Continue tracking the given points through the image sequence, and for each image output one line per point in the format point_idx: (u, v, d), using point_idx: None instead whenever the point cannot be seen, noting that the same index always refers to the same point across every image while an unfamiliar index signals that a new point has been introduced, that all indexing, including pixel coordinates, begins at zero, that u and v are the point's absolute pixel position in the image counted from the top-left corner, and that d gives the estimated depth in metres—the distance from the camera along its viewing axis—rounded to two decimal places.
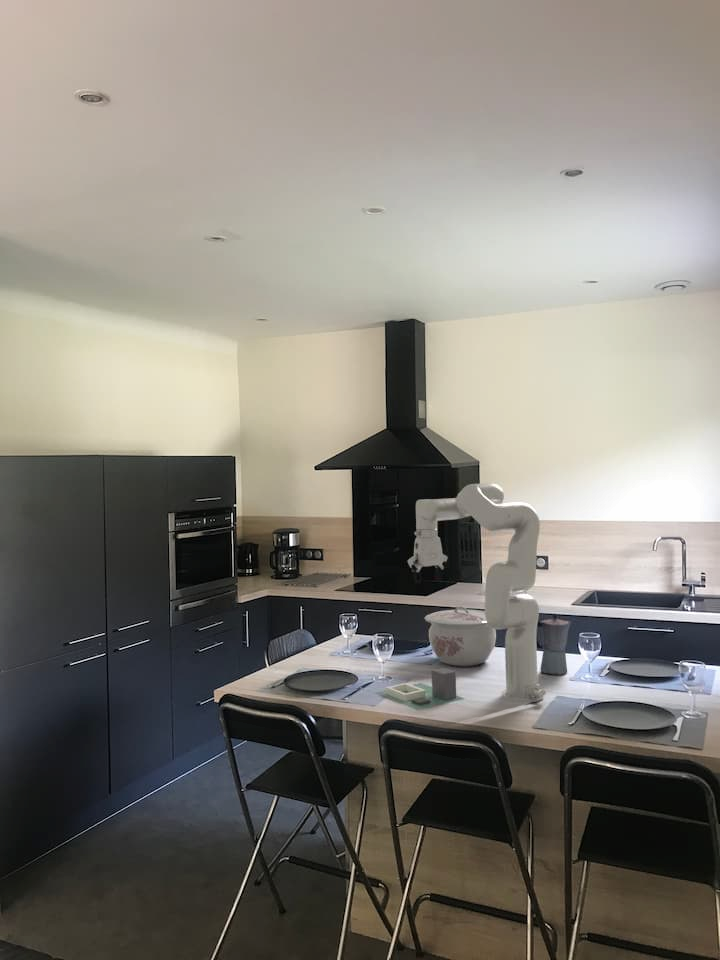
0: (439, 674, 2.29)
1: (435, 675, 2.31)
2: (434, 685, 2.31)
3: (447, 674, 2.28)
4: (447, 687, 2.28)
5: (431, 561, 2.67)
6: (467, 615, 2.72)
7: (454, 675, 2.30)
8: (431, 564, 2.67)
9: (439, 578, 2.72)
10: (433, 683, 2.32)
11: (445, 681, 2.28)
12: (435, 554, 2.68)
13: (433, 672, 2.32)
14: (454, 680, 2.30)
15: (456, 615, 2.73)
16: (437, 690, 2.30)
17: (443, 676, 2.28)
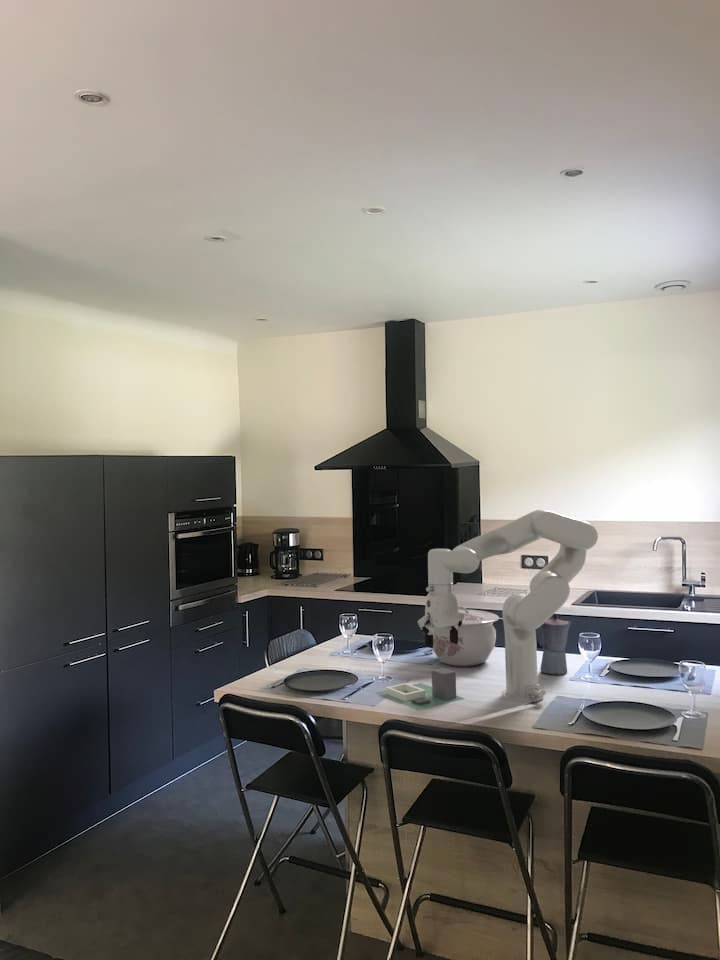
0: (439, 674, 2.29)
1: (435, 675, 2.31)
2: (434, 685, 2.31)
3: (447, 674, 2.28)
4: (447, 687, 2.28)
5: (445, 622, 2.28)
6: (467, 615, 2.72)
7: (454, 675, 2.30)
8: (445, 625, 2.28)
9: (454, 641, 2.33)
10: (433, 683, 2.32)
11: (445, 681, 2.28)
12: (450, 613, 2.30)
13: (433, 672, 2.32)
14: (454, 680, 2.30)
15: None
16: (437, 690, 2.30)
17: (443, 676, 2.28)
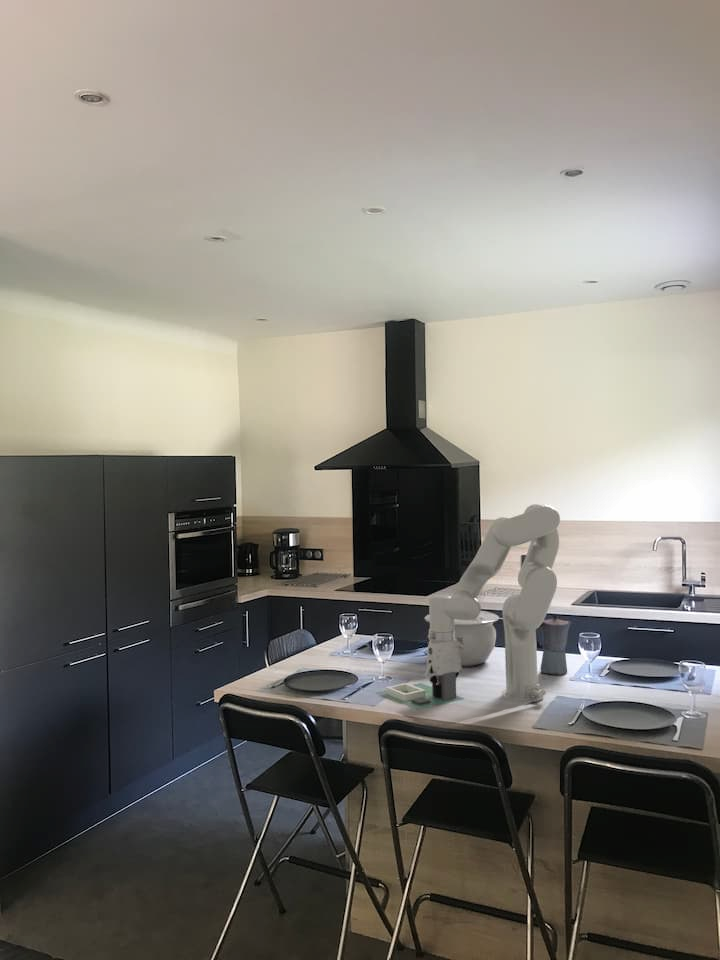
0: None
1: None
2: None
3: (447, 674, 2.28)
4: (447, 687, 2.28)
5: (447, 669, 2.28)
6: None
7: (454, 675, 2.30)
8: (447, 672, 2.29)
9: None
10: None
11: (445, 681, 2.28)
12: (452, 660, 2.30)
13: None
14: (454, 680, 2.30)
15: None
16: None
17: (443, 676, 2.28)
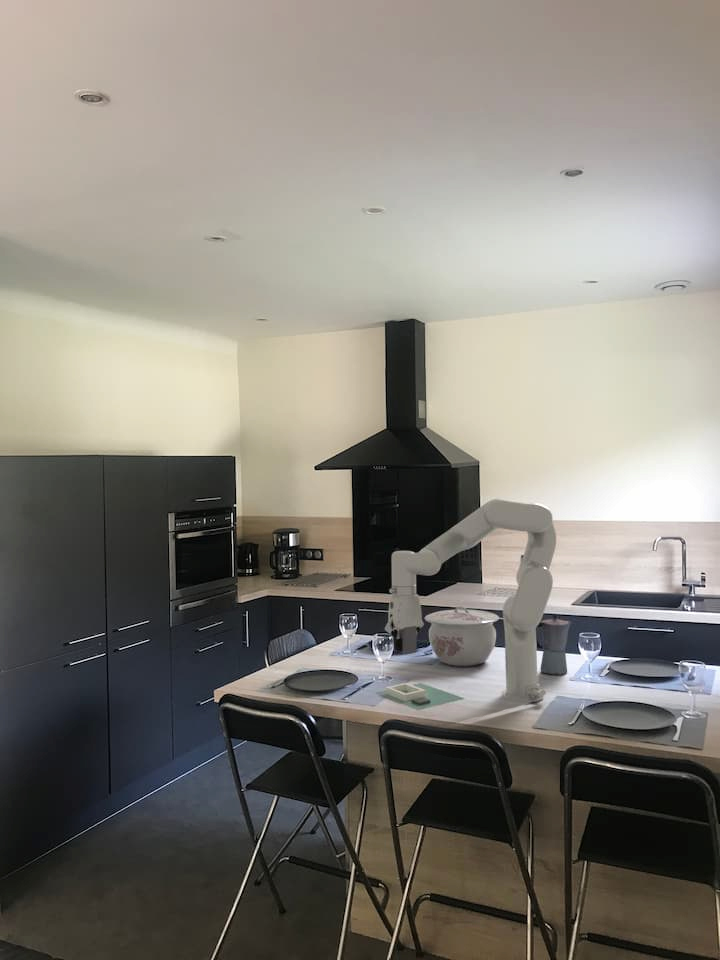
0: None
1: None
2: None
3: (408, 628, 2.31)
4: (407, 640, 2.31)
5: (408, 623, 2.31)
6: (467, 615, 2.72)
7: (415, 629, 2.32)
8: None
9: None
10: None
11: (406, 635, 2.30)
12: (413, 615, 2.32)
13: None
14: (415, 634, 2.32)
15: (456, 615, 2.73)
16: None
17: (404, 630, 2.30)
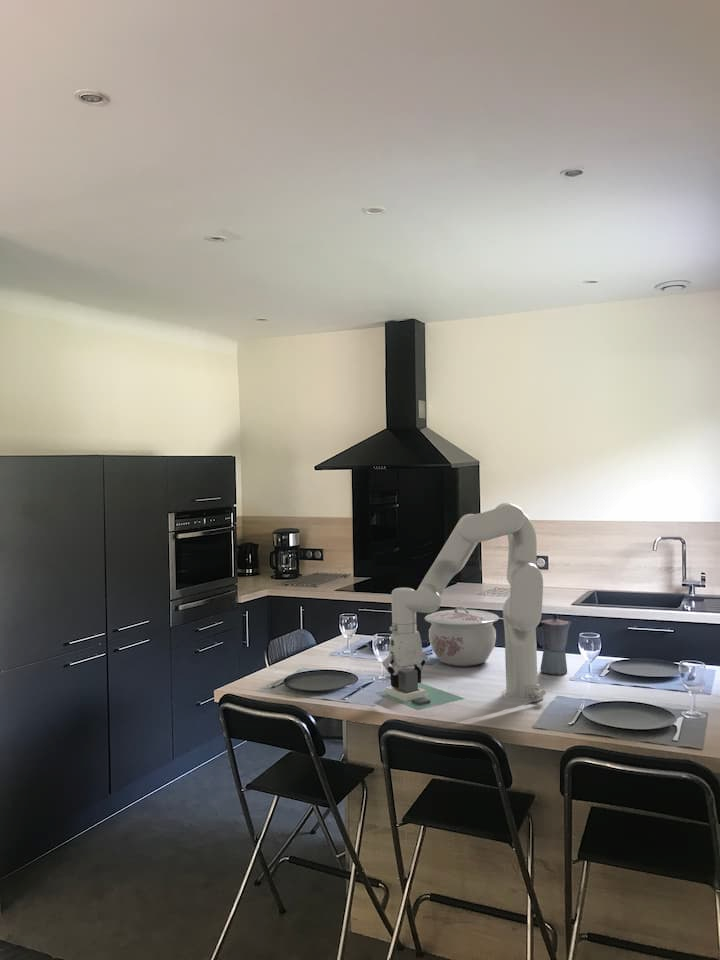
0: (401, 673, 2.32)
1: (397, 674, 2.34)
2: None
3: (409, 673, 2.31)
4: (408, 685, 2.31)
5: (409, 661, 2.31)
6: (467, 615, 2.72)
7: (416, 673, 2.32)
8: (409, 664, 2.31)
9: None
10: None
11: (407, 680, 2.31)
12: (414, 652, 2.32)
13: None
14: (416, 679, 2.32)
15: (456, 615, 2.73)
16: (399, 688, 2.33)
17: (405, 675, 2.31)
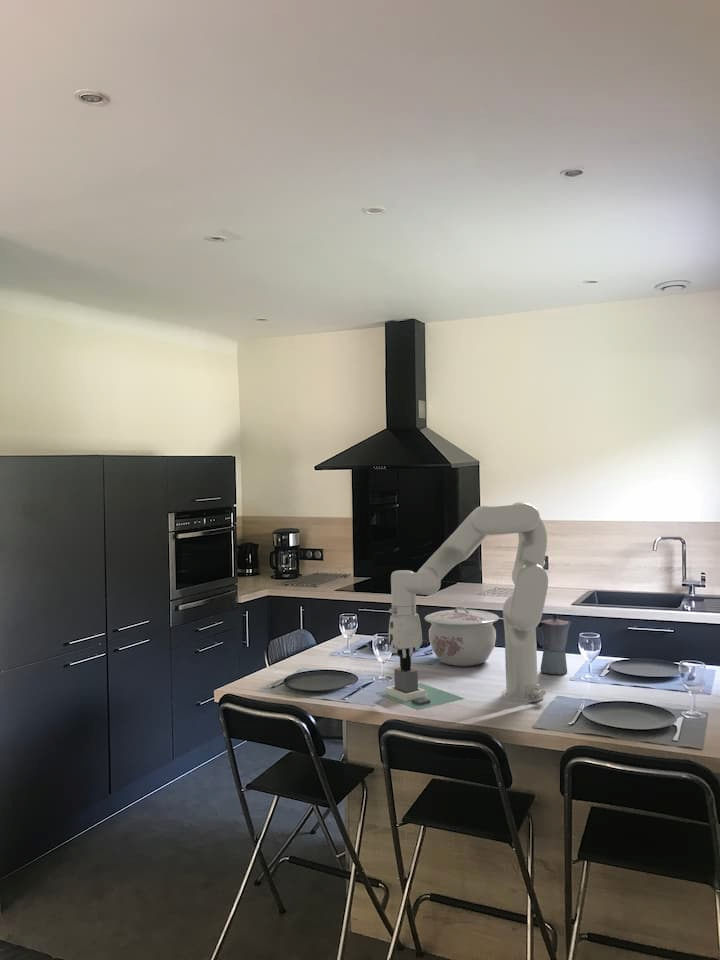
0: (401, 673, 2.32)
1: (397, 674, 2.34)
2: (397, 684, 2.34)
3: (409, 673, 2.31)
4: (408, 685, 2.31)
5: (408, 643, 2.31)
6: (467, 615, 2.72)
7: (416, 673, 2.32)
8: (408, 646, 2.31)
9: None
10: (396, 682, 2.35)
11: (407, 680, 2.31)
12: (413, 634, 2.32)
13: (396, 671, 2.35)
14: (416, 679, 2.32)
15: (456, 615, 2.73)
16: (399, 688, 2.33)
17: (405, 675, 2.31)
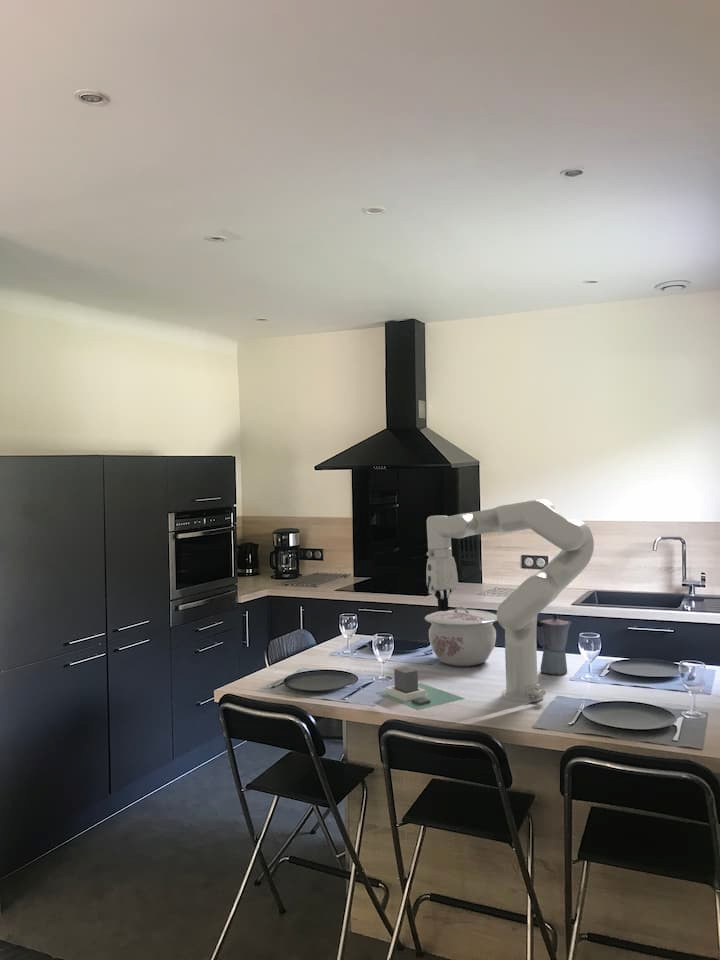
0: (401, 673, 2.32)
1: (397, 674, 2.34)
2: (397, 684, 2.34)
3: (409, 673, 2.31)
4: (408, 685, 2.31)
5: (446, 584, 2.41)
6: (467, 615, 2.72)
7: (416, 673, 2.32)
8: (446, 587, 2.41)
9: None
10: (396, 682, 2.35)
11: (407, 680, 2.31)
12: (450, 576, 2.42)
13: (396, 671, 2.35)
14: (416, 679, 2.32)
15: (456, 615, 2.73)
16: (399, 688, 2.33)
17: (405, 675, 2.31)
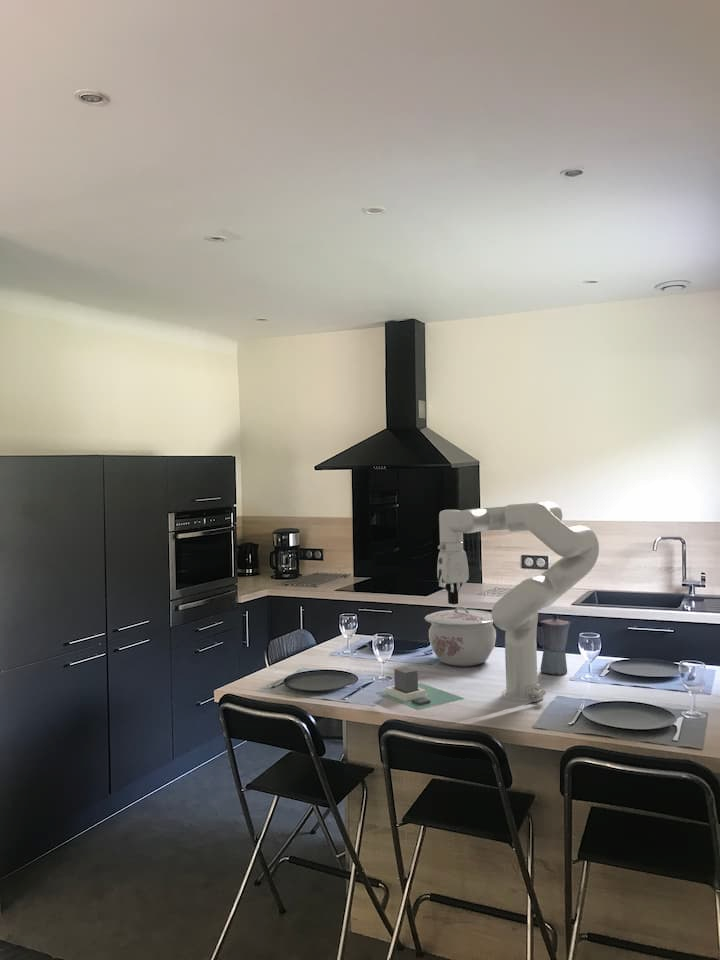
0: (401, 673, 2.32)
1: (397, 674, 2.34)
2: (397, 684, 2.34)
3: (409, 673, 2.31)
4: (408, 685, 2.31)
5: (456, 578, 2.44)
6: (467, 615, 2.72)
7: (416, 673, 2.32)
8: (456, 581, 2.44)
9: None
10: (396, 682, 2.35)
11: (407, 680, 2.31)
12: (461, 570, 2.45)
13: (396, 671, 2.35)
14: (416, 679, 2.32)
15: (456, 615, 2.73)
16: (399, 688, 2.33)
17: (405, 675, 2.31)
